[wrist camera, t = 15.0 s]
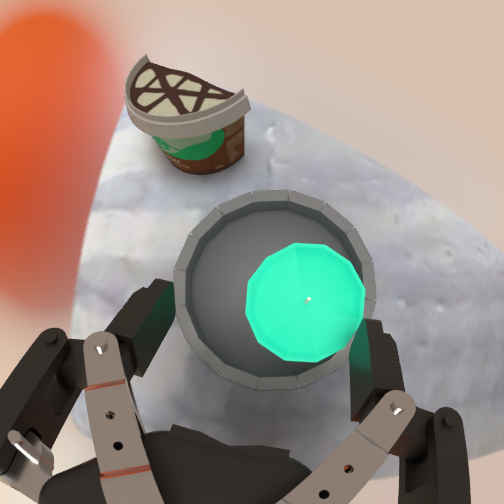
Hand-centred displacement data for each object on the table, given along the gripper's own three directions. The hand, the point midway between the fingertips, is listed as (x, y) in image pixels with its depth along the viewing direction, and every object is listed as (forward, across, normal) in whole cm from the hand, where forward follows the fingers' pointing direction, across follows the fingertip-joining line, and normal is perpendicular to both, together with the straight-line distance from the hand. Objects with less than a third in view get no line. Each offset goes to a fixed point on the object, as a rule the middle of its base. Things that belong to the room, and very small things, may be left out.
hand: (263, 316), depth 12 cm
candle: (+10, -2, +8) cm, 13 cm away
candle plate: (+12, 0, +7) cm, 14 cm away
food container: (+20, +11, -1) cm, 23 cm away
